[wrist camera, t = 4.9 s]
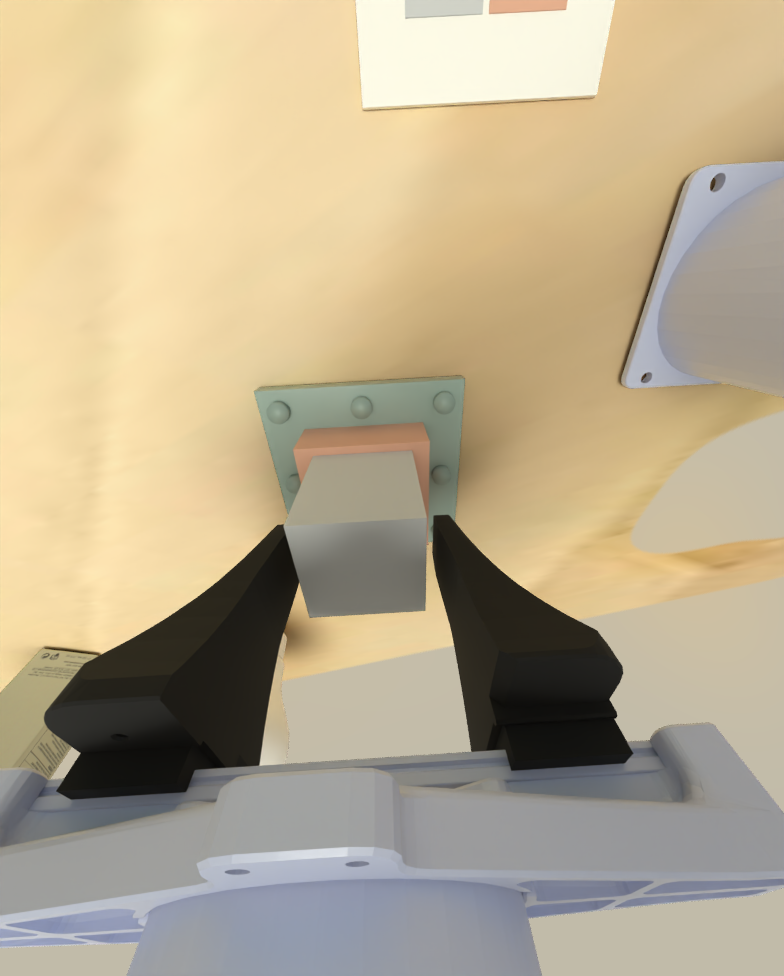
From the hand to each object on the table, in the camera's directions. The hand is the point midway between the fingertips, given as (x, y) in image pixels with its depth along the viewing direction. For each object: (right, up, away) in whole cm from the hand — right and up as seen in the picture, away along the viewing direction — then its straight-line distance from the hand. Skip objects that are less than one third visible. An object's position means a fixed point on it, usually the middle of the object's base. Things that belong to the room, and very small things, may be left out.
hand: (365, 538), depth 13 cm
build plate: (0, +3, +5) cm, 6 cm away
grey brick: (0, +2, +2) cm, 3 cm away
